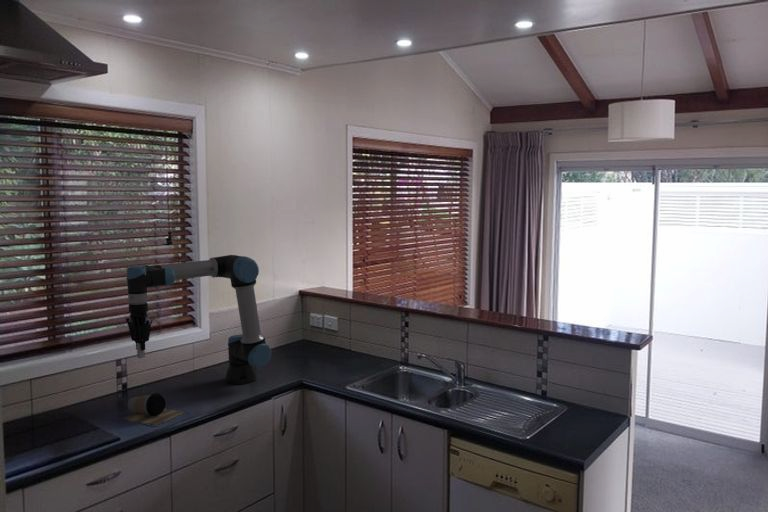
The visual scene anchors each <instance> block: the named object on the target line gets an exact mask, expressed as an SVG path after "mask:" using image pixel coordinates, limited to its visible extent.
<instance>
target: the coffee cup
mask: <svg viewBox="0 0 768 512" xmlns="http://www.w3.org/2000/svg"><path fill="white" fill-rule="evenodd" d="M127 409H128V410H129V411H131V412H133V413H137V412H138V413H143V414H149V415H151V416H157V415H159V414H161V413H162V412H163V411H164V409H166V399H165V397H164V396H163V395H162V394H160V393H157V392H156V393H152V394H148V395H147V394H146V395H140V396H132V397H131V398H129V400H128V402H127Z"/></svg>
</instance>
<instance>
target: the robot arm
mask: <svg viewBox="0 0 768 512" xmlns="http://www.w3.org/2000/svg"><path fill="white" fill-rule="evenodd" d="M259 270H260V269H259V266H258V263H257V262H256V261H255V260H254V259H253V258H251V257H248V256H243V255H242V256H241V255H235V254H227V255H221V256H214V257H210V258H209V259H207V260H197V261H195V260H194V261H184V262H174V263H167V264H166V263H163V264H154V265H153V264H152V265H148V264H143V265H133V266H132V265H131V266H128V267H127V269H126V282H127V283H126V284H127V297H128V298H127V299H128V300H127V301H128V303H129V304H128V313H129V314H130V315H129V317H128V318H127V317H126V318H125V322H126V323H127V326H128V327H127V328H128V329H129V330H128V331H129V334H130V339H131V341H133V342H134V343H135V349H136V352H137V353H136V354H137V359H142V358H145V357H146V343H147V342H149V341H150V336H151V335H150V334H151V328H152V327H151V326H152V324H153V322H154V321H153V319H150V318H149V316H148V314H147V313H148V311H149V306H148V305H149V304H148V301H149V300H148V299H149V298H148V288H149V289H150V288H156V287H164V286H166V287H167V286H171V285H174V283H175V282H176V281H177V280H184V279H193V278H202V277H211V278H226V279H230V285H231V288H232V289H234V290H235V296H236V301H237V309H238V313H239V320H240V326H241V331H242V332H241V334H234V335H230V336H229V337H228V340H227V348H228V352H227V353H228V367H227V372H226V374H225V382H226V383H227V384H230V385H245V384H250V383H253V382H255V381H257V372H256V370H255V367H256V368H261V367H264V366H265V365H266V364H267V363H269V361H270V360H271V357H272V349H271V347H270V345H268V344H266V337H265V335H263V333H262V332H261V331H262V330H261V326H260V319H259V313H258V306H257V298H256V294H255V285H257V278H258V276H259V274H260V271H259Z"/></svg>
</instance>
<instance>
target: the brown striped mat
mask: <svg viewBox="0 0 768 512" xmlns="http://www.w3.org/2000/svg"><path fill="white" fill-rule="evenodd" d="M183 413H185V412H184V411H180V410H174V409H169V408H165V409H164V411H163V412H162V413H161V414H159V415H157V416H151V415H149V414H143V413H138V412H134V413H133V414H130V415H128V416H126V417H123V418H122V419H123V421H128V422H133V423H137V422H138V424H142V423H143V424H142V425H146V424H150V425H149V426H151V425H155V426H154V427H158V426H160V425H162V424H161V423H163V422H165V423H167V422H168V420H169V421H170V419H171V420H173V419H175V418H177V417H179V416H182V415H183ZM178 415H179V416H178ZM174 417H175V418H174ZM172 418H173V419H172ZM166 421H167V422H166ZM159 424H160V425H159ZM163 424H164V423H163ZM157 425H158V426H157Z"/></svg>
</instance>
